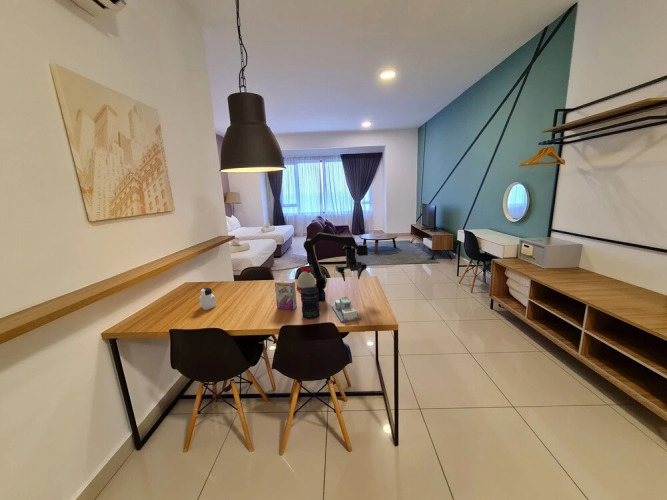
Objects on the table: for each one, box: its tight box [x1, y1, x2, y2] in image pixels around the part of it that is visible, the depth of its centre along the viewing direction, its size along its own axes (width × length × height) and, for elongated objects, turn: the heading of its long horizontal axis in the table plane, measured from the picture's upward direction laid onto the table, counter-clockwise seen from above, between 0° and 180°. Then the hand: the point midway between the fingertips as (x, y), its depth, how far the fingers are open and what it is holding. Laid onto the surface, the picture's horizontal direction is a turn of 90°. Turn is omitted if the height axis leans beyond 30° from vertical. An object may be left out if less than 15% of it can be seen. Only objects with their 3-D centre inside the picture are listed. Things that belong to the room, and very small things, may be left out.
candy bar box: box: [274, 279, 298, 311], centre depth 160 cm, size 11×5×16 cm, turn 71°
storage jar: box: [300, 287, 321, 320], centre depth 149 cm, size 10×10×15 cm
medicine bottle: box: [198, 287, 217, 311], centre depth 167 cm, size 7×7×12 cm
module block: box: [339, 296, 352, 311], centre depth 150 cm, size 4×7×7 cm, turn 15°
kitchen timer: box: [296, 266, 316, 291], centre depth 193 cm, size 14×14×15 cm
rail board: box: [331, 299, 362, 324], centre depth 150 cm, size 11×20×4 cm, turn 15°
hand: (351, 280), depth 168 cm, fingers open, 9 cm apart
